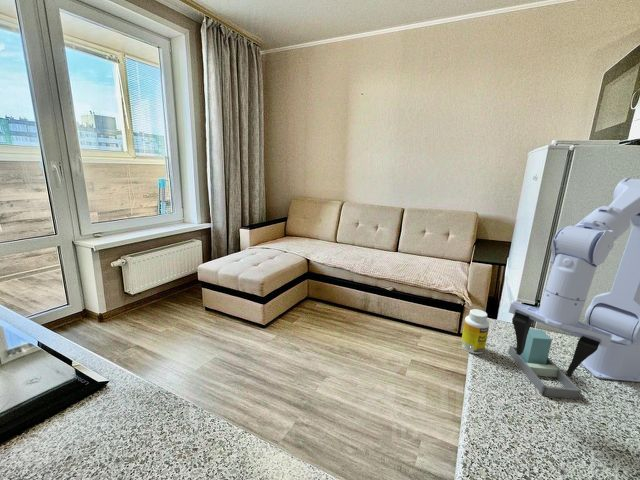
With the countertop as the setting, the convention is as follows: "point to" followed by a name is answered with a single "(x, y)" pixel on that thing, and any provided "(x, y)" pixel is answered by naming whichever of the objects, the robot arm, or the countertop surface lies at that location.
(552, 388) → the caddy
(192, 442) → the countertop surface
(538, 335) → the plug
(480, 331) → the supplement bottle
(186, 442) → the countertop surface
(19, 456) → the countertop surface
